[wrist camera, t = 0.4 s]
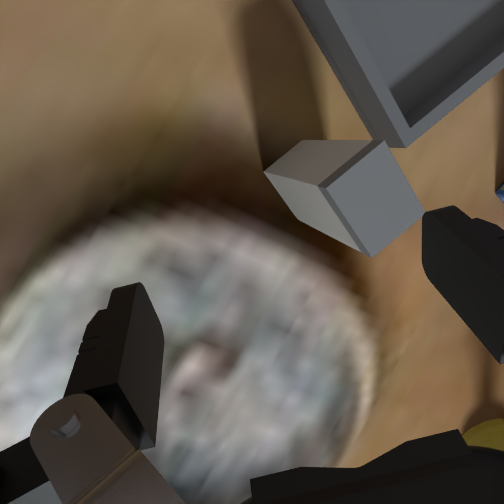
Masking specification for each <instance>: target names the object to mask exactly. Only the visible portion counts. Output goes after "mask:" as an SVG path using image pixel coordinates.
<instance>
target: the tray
mask: <svg viewBox="0 0 504 504" xmlns="http://www.w3.org/2000/svg"><path fill="white" fill-rule="evenodd" d="M292 1H293V3H294V4H295V6H296V8H297V10H298V11H299V13H300V15H301V16H302V18H303V20H304V22H305V23H306V25H307V27H308V28H309V30H310V32H311V34H312V35H313V37H314V39H315V41H316V42H317V44H318V46H319V47H320V49H321V51H322V53H323V54H324V56H325V58H326V59H327V61H328V63H329V65H330V66H331V68H332V70H333V71H334V73H335V75H336V77H337V78H338V80H339V82H340V84H341V85H342V87H343V89H344V90H345V92H346V94H347V96H348V97H349V99H350V101H351V102H352V104H353V106H354V108H355V109H356V111H357V113H358V114H359V116H360V118H361V120H362V121H363V123H364V125H365V127H366V128H367V130H368V132H369V133H370V135H371V137H372V139H373V140H385V142H386V144H387V145H388V147H391V148H406V147H408V146H409V145H410V144H411V143H413V142H414V141H415V140H416V139H417V138H419V137H420V136H421V135H422V134H424V133H425V132H426V131H427V130H428V129H430V128H431V127H432V126H433V125H434V124H436V123H437V122H438V121H439V120H441V119H442V118H443V117H444V116H445V115H447V114H448V113H449V112H450V111H452V110H453V109H454V108H455V107H456V106H458V105H459V104H460V103H461V102H463V101H464V100H465V99H466V98H467V97H469V96H470V95H471V94H472V93H473V92H475V91H476V90H477V89H478V88H480V87H481V86H482V85H483V84H484V83H486V82H487V81H488V80H489V79H491V78H492V77H493V76H494V75H495V74H497V73H498V72H499V71H500V70H501V69H503V68H504V0H292Z"/></svg>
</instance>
